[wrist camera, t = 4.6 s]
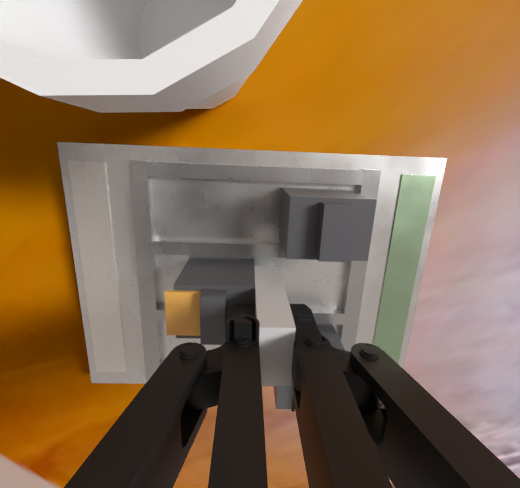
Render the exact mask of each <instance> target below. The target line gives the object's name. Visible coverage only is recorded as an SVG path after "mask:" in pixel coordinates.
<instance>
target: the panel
mask: <svg viewBox="0 0 520 488" xmlns="http://www.w3.org/2000/svg"><path fill="white" fill-rule="evenodd" d="M57 146H58V152H59V159H60V166H61V173H62V180H63V187H64V194H65V201H66V208H67V215H68V222H69V229H70V236H71V243H72V250H73V257H74V264H75V271H76V278H77V285H78V292H79V299H80V306H81V313H82V320H83V327H84V334H85V341H86V348H87V355H88V362H89V369H90V376H91V383H139V384H146V383H147V381H148V380H149V379H150V377H151V376H152V375H153V374H154V372H155V371H156V370H157V369H158V367H159V366H160V365H161V363H162V362H163V361H164V360H165V358H166V357H167V356H168V355H169V353H170V352H171V351H172V350H173V349H174V348H175V347H176V346H178V345H180V344H183V343H188V342H196V343H199V344H201V341H200V339H198V338H176V335H167V332H166V313H165V295H164V292H165V290H174V287H173V285H174V283H175V281H176V280H177V278H178V276H179V275H180V273H181V271H182V269H183V268H184V266H185V264H186V263H187V261H188V259H189V258H211V259H247V260H254V266H268V267H279V268H280V271H281V275H282V279H283V282H284V286H285V290H286V293H287V297H288V301H289V304H305V305H307V306H308V307H309V308H310V309H311V311H312V313H313V316H314V318H315V321H316V323H317V325H333V326H334V328H335V331H336V333H337V335H338V337H339V339H340V341H341V343H342V345H343V347H344V349H345V351H350V352H351V348H352V346H353V345H355V344H358V343H368V344H372V345H375V346H377V347H379V348H381V349H382V350H383V351H385V352H386V353H387V354H388V355H389V356H390V357H391V358H392V359H393V360H394V361H395V362H396V363H397V364H398V365H399V366H400V367H402V368H404V363H405V358H406V353H407V348H408V344H409V339H410V334H411V329H412V324H413V320H414V315H415V310H416V305H417V300H418V296H419V291H420V286H421V281H422V276H423V271H424V267H425V262H426V257H427V252H428V247H429V243H430V238H431V233H432V228H433V223H434V219H435V214H436V209H437V204H438V199H439V194H440V190H441V185H442V180H443V175H444V170H445V166H446V161H447V158H427V157H403V156H380V155H356V154H332V153H309V152H285V151H261V150H238V149H214V148H190V147H167V146H143V145H120V144H96V143H72V142H57ZM282 187H285V188H312V189H339V190H351V191H354V192H357V193H360V194H363V195H365V196H368V197H371V198H374V199H377V203H376V210H375V217H374V223H373V230H372V237H371V243H370V250H369V257H368V261H345V262H323V261H318V260H309V259H286V257H285V254H284V251H283V248H282V245H281V242H280V239H279V224H280V207H281V190H282ZM203 346H204V347H205V348H206V351H207V350H212V349H215V348H218V347H220V346H221V345H203Z"/></svg>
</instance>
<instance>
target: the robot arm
mask: <svg viewBox="0 0 520 488" xmlns="http://www.w3.org/2000/svg"><path fill="white" fill-rule="evenodd" d="M254 268H255V304H235V305H234V306H233V307H232V308H231V310H230V318H229V319H227V321H226V341H225V343H224V344H223V345H221V346H220V347H218V348H215V349H212V350H207V351H206V348H205V347H204V346H203V345H202V344H199V343H196V342H188V343H183V344H180V345H178V346H176V347H175V348H174V349H173V350H172V351H171V352H170V353H169V355H168V356H167V357H166V358H165V360H164V361H163V362H162V363H161V365H160V366H159V367H158V369H157V370H156V371H155V372H154V374H153V375H152V376H151V377H150V379H149V380H148V381H147V383H146V384H145V385H144V386H143V388H142V389H141V390H140V391H139V393H138V394H137V395H136V397H135V398H134V399H133V400H132V402H131V403H130V404H129V405H128V407H127V408H126V409H125V411H124V412H123V413H122V414H121V416H120V417H119V418H118V419H117V421H116V422H115V423H114V425H113V426H112V427H111V428H110V430H109V431H108V432H107V433H106V435H105V436H104V437H103V439H102V440H101V441H100V442H99V444H98V445H97V446H96V448H95V449H94V450H93V451H92V453H91V454H90V455H89V456H88V458H87V459H86V460H85V462H84V463H83V464H82V465H81V467H80V468H79V469H78V470H77V472H76V473H75V474H74V476H73V477H72V478H71V479H70V481H69V482H68V483H67V484H66V486H65V487H64V488H173V485H174V483H175V481H176V479H177V477H178V474H179V472H180V470H181V468H182V466H183V464H184V461H185V459H186V457H187V455H188V453H189V450H190V448H191V446H192V444H193V442H194V439H195V437H196V435H197V433H198V431H199V429H200V426H201V424H202V422H203V420H204V418H205V415H206V413H207V408H209V407H212V406H216V405H218V408H217V417H216V425H215V434H214V442H213V450H212V459H211V467H210V476H209V484H208V488H268V485H267V469H266V452H265V435H264V418H263V401H262V386H291V383H292V379H293V384H294V386H293V399H292V411H294V409H295V411H296V416H297V422H298V427H299V433H300V439H301V444H302V450H303V455H304V461H305V466H306V472H307V478H308V483H309V488H392V485H391V483H390V481H389V478H390V480H391V481H392V483H393V484H394V486H395V487H396V488H520V479H519V478H518V477H517V476H516V475H515V474H514V473H513V472H512V471H511V470H510V469H509V468H508V467H507V466H506V465H505V464H503V463H502V462H501V461H500V460H499V459H498V458H497V457H496V456H495V455H494V454H493V453H492V452H491V451H490V450H489V449H488V448H487V447H485V446H484V445H483V444H482V443H481V442H480V441H479V440H478V439H477V438H476V437H475V436H474V435H473V434H472V433H471V432H470V431H468V430H467V429H466V428H465V427H464V426H463V425H462V424H461V423H460V422H459V421H458V420H457V419H456V418H455V417H454V416H453V415H451V414H450V413H449V412H448V411H447V410H446V409H445V408H444V407H443V406H442V405H441V404H440V403H439V402H438V401H437V400H436V399H434V398H433V397H432V396H431V395H430V394H429V393H428V392H427V391H426V390H425V389H424V388H423V387H422V386H421V385H420V384H419V383H417V382H416V381H415V380H414V379H413V378H412V377H411V376H410V375H409V374H408V373H407V372H406V371H405V370H404V369H403V368H402V367H400V366H399V365H398V364H397V363H396V362H395V361H394V360H393V359H392V358H391V357H390V356H389V355H388V354H387V353H386V352H385V351H383V350H382V349H381V348H379V347H377V346H375V345H372V344H368V343H358V344H355V345H353V346H352V348H351V352H350V351H345V350H340V349H337V348H334V347H332V346H331V343H330V341H329V340H328V339H327V338H326V337H324V336H323V335H321V333H320V331H319V328H318V326H317V323H316V321H315V318H314V316H313V313H312V311H311V309H310V308H309V307H308V306H307V305H305V304H289V301H288V297H287V293H286V290H285V286H284V282H283V279H282V275H281V271H280V268H279V267H268V266H254ZM380 401H381V402H382V403H381V402H380ZM387 475H388V476H387ZM388 477H389V478H388Z"/></svg>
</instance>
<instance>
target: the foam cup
mask: <svg viewBox="0 0 520 488" xmlns="http://www.w3.org/2000/svg"><path fill="white" fill-rule="evenodd" d="M302 1H303V0H0V78H2V79H4V80H6V81H9V82H11V83H13V84H15V85H17V86H19V87H22V88H24V89H26V90H28V91H30V92H32V93H35V94H37V95H39V96H42V97H46V98H49V99H53V100H56V101H60V102H64V103H67V104H71V105H74V106H78V107H81V108H85V109H88V110H92V111H96V112H99V113H113V112H182V111H184V110H185V109H213V108H215V107H217V106H219V105H221V104H222V103H224V102H226V101H228V100H230V99H232V98H233V97H235V95H236V94H237V92H238V91H239V90H240V88H241V87H242V85H243V84H244V82H245V81H246V79H247V78H248V77H249V75H250V74H251V73H253V72H254V70H255V69H256V67H257V66H258V64H259V63H260V61H261V60H262V59H263V57H264V56H265V54H266V53H267V51H268V50H269V48H270V47H271V46H272V44H273V43H274V41H275V40H276V38H277V37H278V35H279V34H280V32H281V31H282V30H283V28H284V27H285V25H286V24H287V22H288V21H289V19H290V18H291V17H292V15H293V14H294V12H295V11H296V9H297V8H298V6H299V5H300V4H301V2H302Z"/></svg>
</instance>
